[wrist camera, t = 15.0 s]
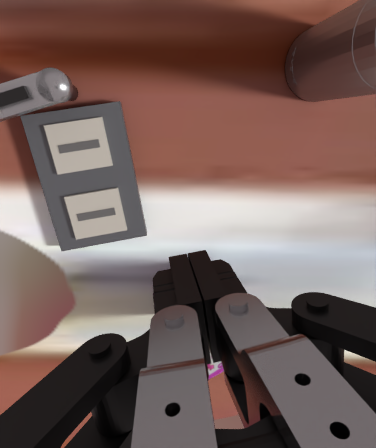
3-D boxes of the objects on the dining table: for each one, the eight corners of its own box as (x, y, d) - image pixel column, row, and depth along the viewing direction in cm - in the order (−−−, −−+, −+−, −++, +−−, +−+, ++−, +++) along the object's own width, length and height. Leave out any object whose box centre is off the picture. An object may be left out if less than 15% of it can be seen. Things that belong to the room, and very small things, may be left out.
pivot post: (75, 82, 39) (65, 76, 33) (79, 99, 39) (70, 96, 34) (59, 85, 39) (46, 78, 33) (64, 102, 39) (51, 98, 34)
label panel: (120, 102, 40) (119, 101, 38) (146, 230, 46) (146, 237, 43) (26, 116, 39) (18, 115, 37) (64, 245, 45) (60, 253, 42)
